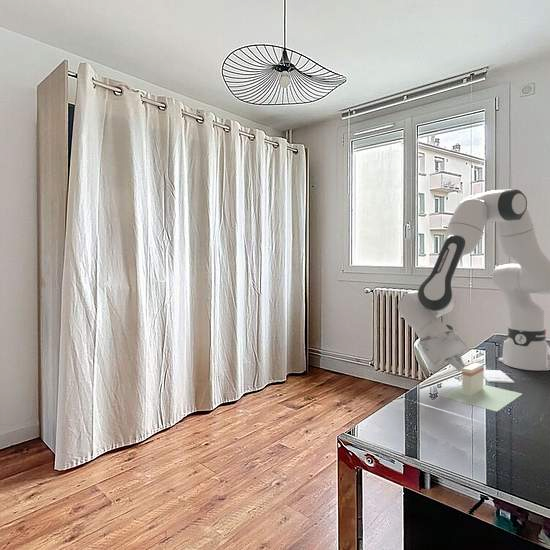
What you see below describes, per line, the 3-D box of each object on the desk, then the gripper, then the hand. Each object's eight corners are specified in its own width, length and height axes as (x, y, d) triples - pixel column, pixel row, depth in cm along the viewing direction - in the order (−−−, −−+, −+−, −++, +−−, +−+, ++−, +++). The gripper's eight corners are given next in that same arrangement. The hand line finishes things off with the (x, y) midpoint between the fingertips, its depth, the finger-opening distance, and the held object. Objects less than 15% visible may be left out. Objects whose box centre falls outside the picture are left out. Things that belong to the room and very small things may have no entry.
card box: (474, 387, 127) (475, 362, 126) (483, 389, 124) (483, 364, 124) (461, 393, 121) (462, 368, 120) (470, 396, 119) (471, 370, 118)
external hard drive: (501, 374, 142) (515, 386, 130) (476, 373, 143) (488, 384, 131) (501, 370, 142) (515, 381, 129) (476, 369, 143) (488, 380, 131)
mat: (469, 382, 132) (469, 381, 132) (522, 394, 120) (522, 393, 120) (440, 397, 119) (440, 395, 119) (497, 412, 107) (497, 411, 107)
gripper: (424, 333, 123) (454, 370, 116) (454, 325, 136) (483, 358, 129) (410, 344, 127) (439, 382, 120) (441, 335, 140) (469, 368, 133)
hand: (462, 369), depth 124 cm, fingers closed
